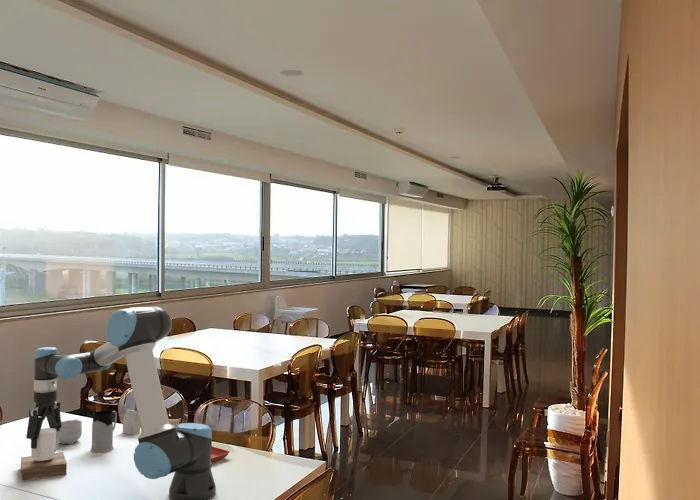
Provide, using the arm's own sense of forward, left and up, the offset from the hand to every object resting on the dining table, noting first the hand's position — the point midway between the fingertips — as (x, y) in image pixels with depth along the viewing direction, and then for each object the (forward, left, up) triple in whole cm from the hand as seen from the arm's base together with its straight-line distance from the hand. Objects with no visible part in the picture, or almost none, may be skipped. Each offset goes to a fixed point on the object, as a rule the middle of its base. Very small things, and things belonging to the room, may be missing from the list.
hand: (43, 453), depth 221 cm
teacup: (+35, -12, -7) cm, 38 cm away
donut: (+17, -2, -7) cm, 19 cm away
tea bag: (+36, -37, -7) cm, 52 cm away
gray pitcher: (+19, -24, -7) cm, 31 cm away
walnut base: (0, 0, -7) cm, 7 cm away
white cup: (0, 0, -2) cm, 2 cm away
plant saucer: (-12, -53, -7) cm, 55 cm away
